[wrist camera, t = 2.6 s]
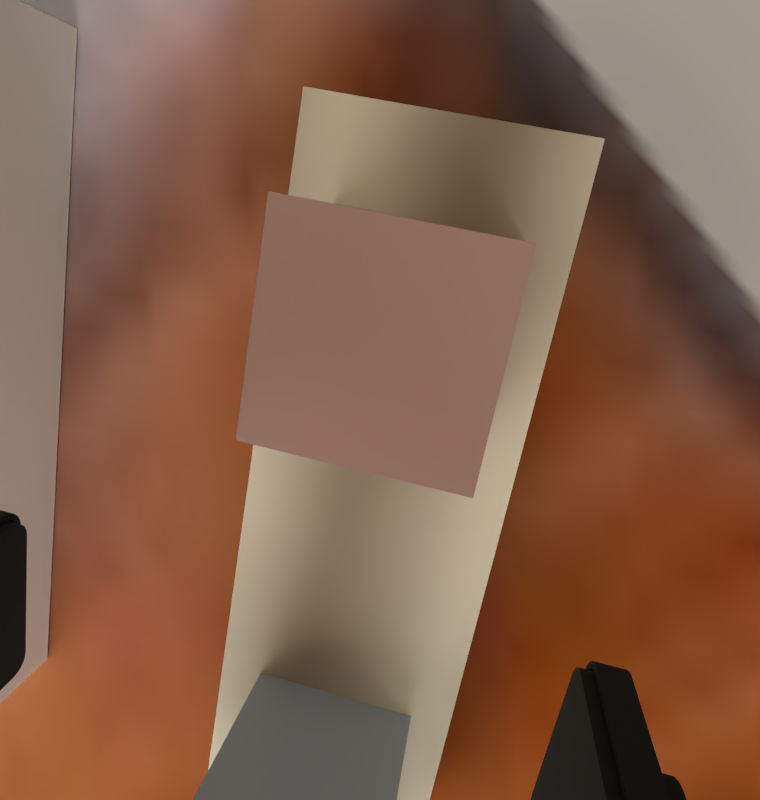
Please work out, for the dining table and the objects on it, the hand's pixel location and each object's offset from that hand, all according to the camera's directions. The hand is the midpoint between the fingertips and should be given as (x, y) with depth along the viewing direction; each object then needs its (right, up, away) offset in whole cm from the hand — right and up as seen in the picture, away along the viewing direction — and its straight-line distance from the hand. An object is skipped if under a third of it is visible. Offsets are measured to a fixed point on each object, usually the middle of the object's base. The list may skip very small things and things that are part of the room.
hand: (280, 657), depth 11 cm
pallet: (+2, +1, +9) cm, 9 cm away
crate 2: (0, -5, +6) cm, 8 cm away
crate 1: (+2, +6, +3) cm, 7 cm away
